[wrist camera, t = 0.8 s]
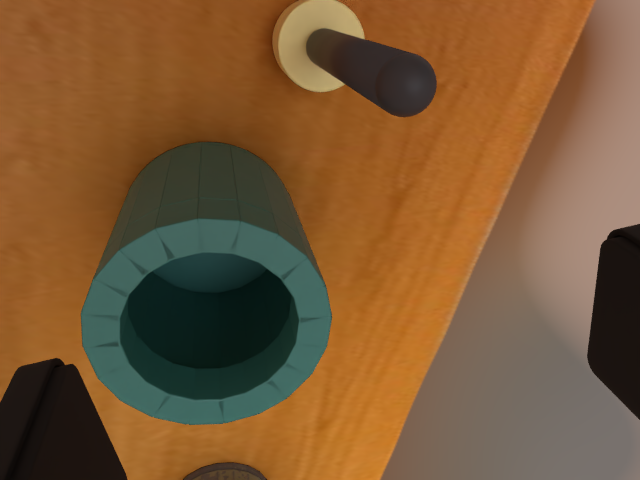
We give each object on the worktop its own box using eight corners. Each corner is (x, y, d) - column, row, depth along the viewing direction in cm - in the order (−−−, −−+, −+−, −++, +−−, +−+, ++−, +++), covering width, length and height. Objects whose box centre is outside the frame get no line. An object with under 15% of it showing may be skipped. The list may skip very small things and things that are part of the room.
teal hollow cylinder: (98, 163, 33) (38, 255, 21) (273, 124, 34) (307, 192, 22) (154, 310, 38) (130, 449, 26) (305, 272, 39) (346, 390, 27)
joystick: (264, 6, 31) (323, 20, 15) (346, -10, 31) (489, -14, 15) (281, 92, 33) (349, 183, 17) (357, 75, 34) (493, 150, 18)
